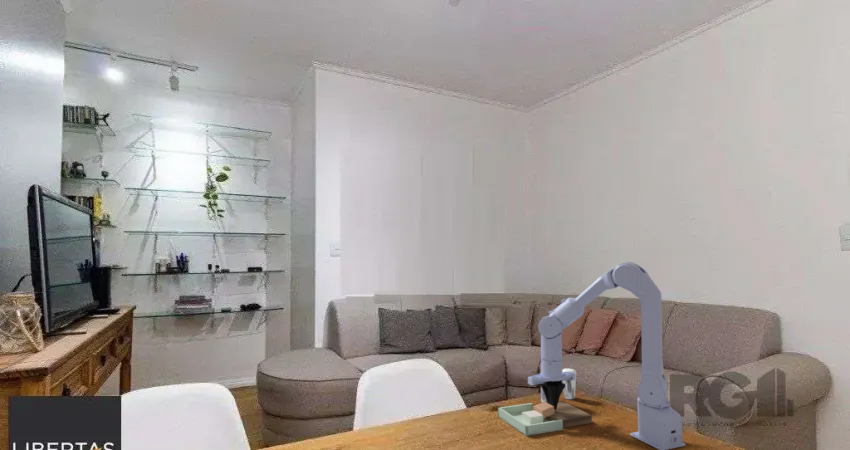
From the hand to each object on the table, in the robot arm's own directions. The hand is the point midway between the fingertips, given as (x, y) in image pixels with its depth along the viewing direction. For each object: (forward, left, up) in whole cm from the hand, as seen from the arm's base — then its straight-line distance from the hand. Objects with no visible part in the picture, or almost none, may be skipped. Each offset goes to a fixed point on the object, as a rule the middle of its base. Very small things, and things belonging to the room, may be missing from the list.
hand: (552, 408), depth 122 cm
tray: (0, +8, -3) cm, 8 cm away
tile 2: (0, +3, -1) cm, 3 cm away
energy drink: (+11, -7, -3) cm, 14 cm away
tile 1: (0, +7, -2) cm, 7 cm away
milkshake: (+13, -16, -3) cm, 21 cm away
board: (0, -3, -3) cm, 4 cm away
